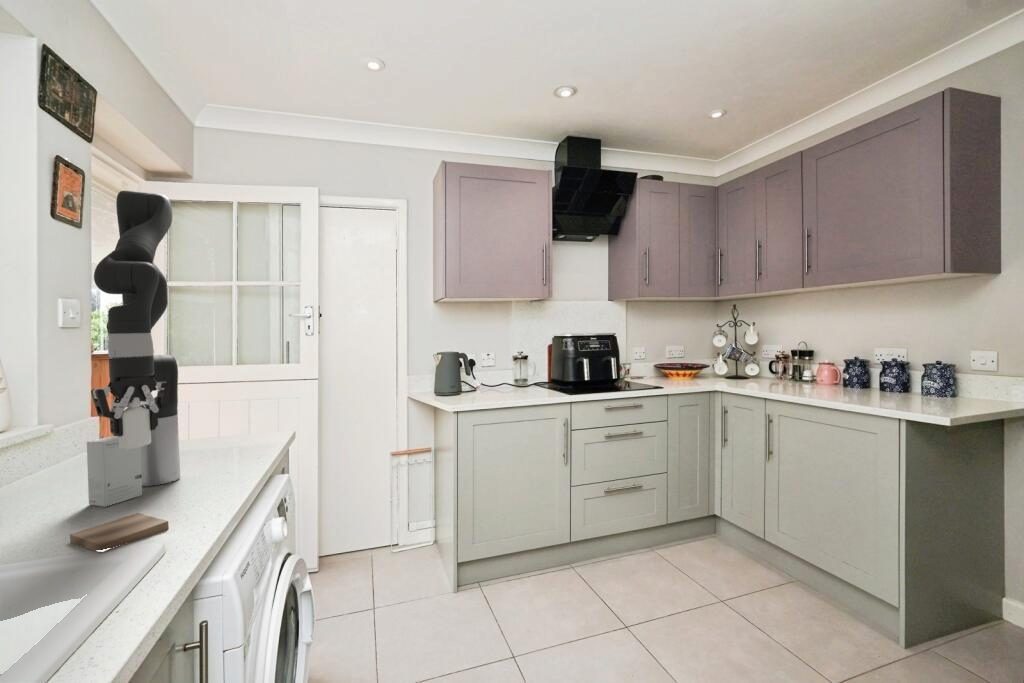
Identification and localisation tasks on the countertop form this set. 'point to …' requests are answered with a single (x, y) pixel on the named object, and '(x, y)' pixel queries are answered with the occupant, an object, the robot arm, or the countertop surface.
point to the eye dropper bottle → (135, 426)
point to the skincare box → (112, 472)
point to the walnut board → (119, 531)
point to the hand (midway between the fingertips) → (135, 432)
